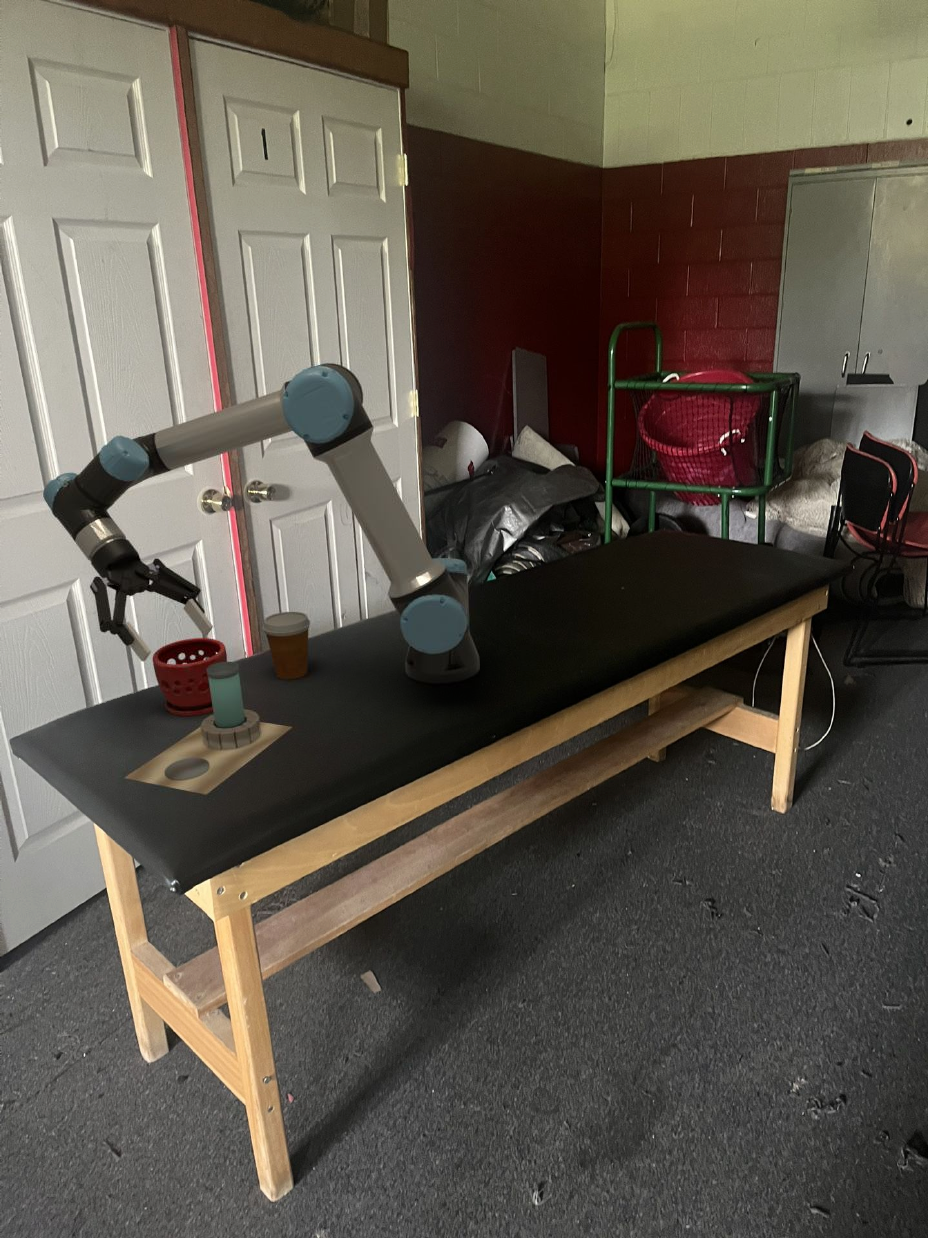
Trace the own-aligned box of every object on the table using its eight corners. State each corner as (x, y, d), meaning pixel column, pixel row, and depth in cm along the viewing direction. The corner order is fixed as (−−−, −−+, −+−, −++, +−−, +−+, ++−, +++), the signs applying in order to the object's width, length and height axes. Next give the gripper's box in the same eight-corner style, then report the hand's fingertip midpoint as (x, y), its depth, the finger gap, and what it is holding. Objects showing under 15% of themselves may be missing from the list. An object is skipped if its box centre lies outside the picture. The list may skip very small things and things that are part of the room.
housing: (292, 732, 156) (290, 711, 155) (207, 800, 135) (203, 777, 134) (218, 720, 162) (215, 700, 160) (125, 783, 141) (120, 761, 140)
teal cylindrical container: (253, 732, 154) (244, 663, 150) (235, 745, 150) (225, 675, 145) (229, 728, 156) (219, 660, 152) (210, 741, 152) (200, 671, 147)
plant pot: (152, 707, 169) (142, 648, 165) (218, 688, 176) (210, 632, 172) (175, 730, 158) (164, 669, 154) (244, 710, 166) (236, 650, 162)
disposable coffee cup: (259, 680, 179) (252, 624, 175) (284, 662, 187) (277, 609, 183) (300, 685, 176) (294, 628, 172) (323, 667, 184) (318, 612, 180)
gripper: (158, 546, 168) (224, 633, 165) (37, 581, 148) (110, 680, 145) (172, 521, 163) (240, 610, 160) (50, 554, 144) (125, 656, 141)
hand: (179, 643), depth 153 cm, fingers open, 13 cm apart
